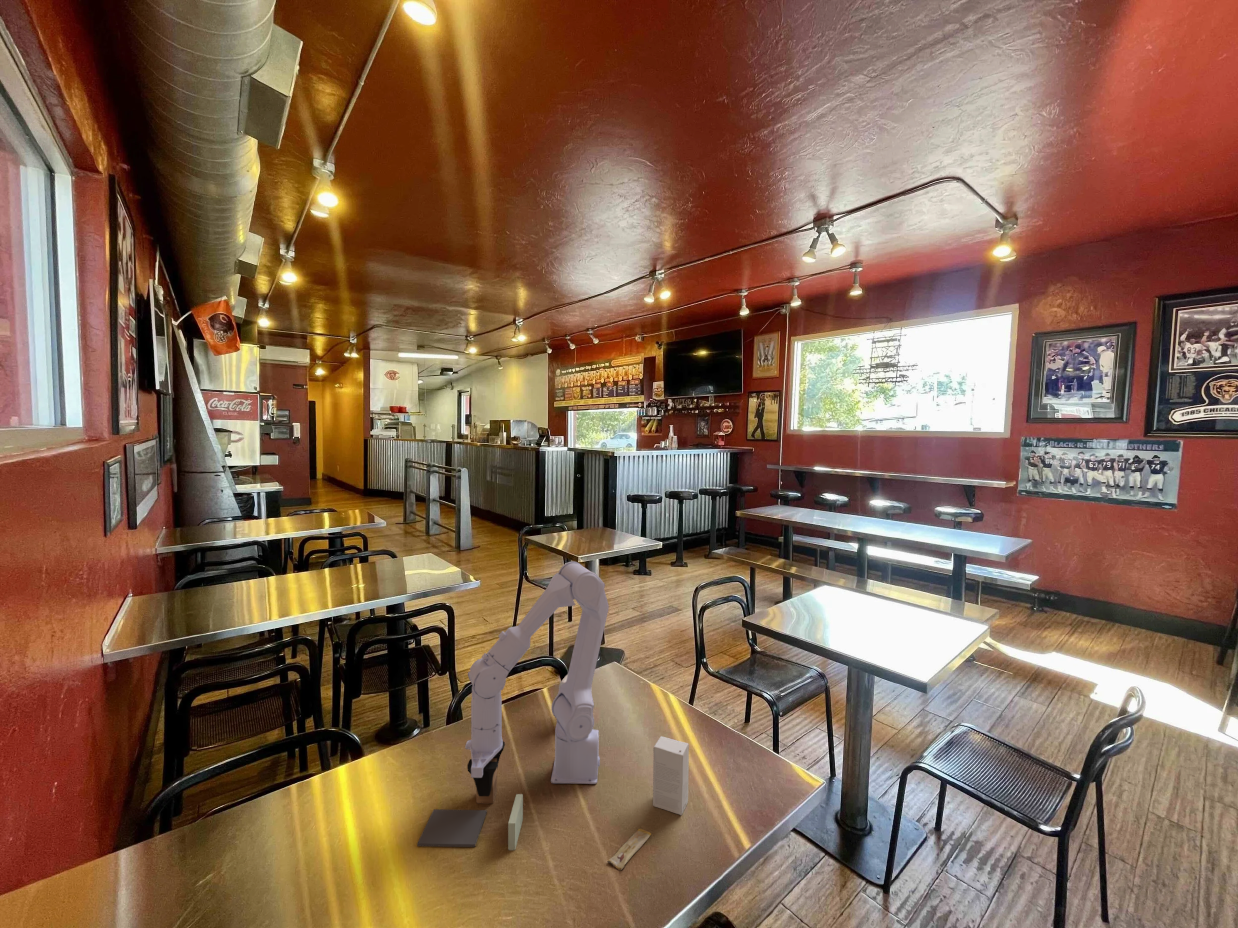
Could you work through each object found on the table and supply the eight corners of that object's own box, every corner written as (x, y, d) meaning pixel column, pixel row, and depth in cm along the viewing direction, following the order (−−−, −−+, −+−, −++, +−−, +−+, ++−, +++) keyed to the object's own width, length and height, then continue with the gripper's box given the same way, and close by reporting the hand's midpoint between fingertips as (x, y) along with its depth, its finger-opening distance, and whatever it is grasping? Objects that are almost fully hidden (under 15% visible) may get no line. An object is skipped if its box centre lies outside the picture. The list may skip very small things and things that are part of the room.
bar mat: (486, 812, 97) (486, 809, 97) (474, 846, 89) (474, 844, 89) (433, 811, 97) (433, 809, 97) (417, 845, 89) (417, 843, 89)
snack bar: (638, 826, 94) (651, 828, 92) (640, 835, 94) (653, 837, 92) (605, 860, 86) (619, 863, 85) (608, 870, 86) (621, 873, 84)
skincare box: (688, 801, 101) (690, 743, 100) (681, 816, 97) (683, 755, 96) (659, 792, 103) (660, 734, 103) (651, 806, 100) (652, 746, 99)
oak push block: (496, 791, 103) (496, 758, 102) (493, 803, 100) (492, 768, 99) (480, 791, 103) (480, 757, 102) (476, 803, 100) (476, 768, 99)
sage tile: (522, 819, 96) (522, 794, 95) (515, 850, 89) (515, 823, 88) (515, 819, 96) (515, 793, 95) (507, 850, 89) (507, 822, 88)
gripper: (476, 701, 107) (476, 763, 108) (454, 743, 93) (454, 815, 94) (510, 701, 107) (510, 764, 108) (493, 744, 93) (493, 815, 94)
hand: (486, 787), depth 101 cm, fingers closed on oak push block, 3 cm apart
